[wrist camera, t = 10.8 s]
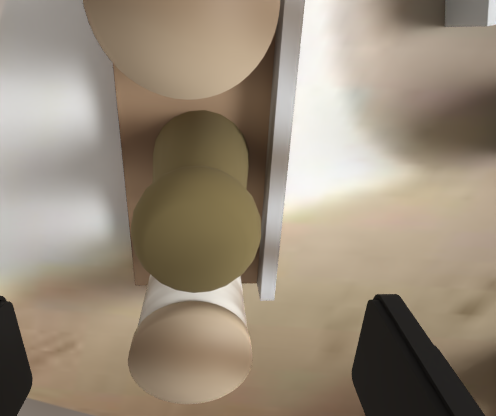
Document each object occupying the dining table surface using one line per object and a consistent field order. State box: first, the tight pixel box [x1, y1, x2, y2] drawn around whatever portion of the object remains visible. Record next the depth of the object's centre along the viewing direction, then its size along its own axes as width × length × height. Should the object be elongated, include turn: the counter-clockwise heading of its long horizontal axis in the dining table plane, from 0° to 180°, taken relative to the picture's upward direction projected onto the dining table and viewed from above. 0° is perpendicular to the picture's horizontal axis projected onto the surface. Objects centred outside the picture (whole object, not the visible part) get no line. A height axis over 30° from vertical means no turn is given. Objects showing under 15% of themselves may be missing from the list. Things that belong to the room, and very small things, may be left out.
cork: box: [131, 110, 261, 293], centre depth 18 cm, size 6×6×11 cm
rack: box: [83, 0, 305, 404], centre depth 20 cm, size 22×10×10 cm, turn 177°
